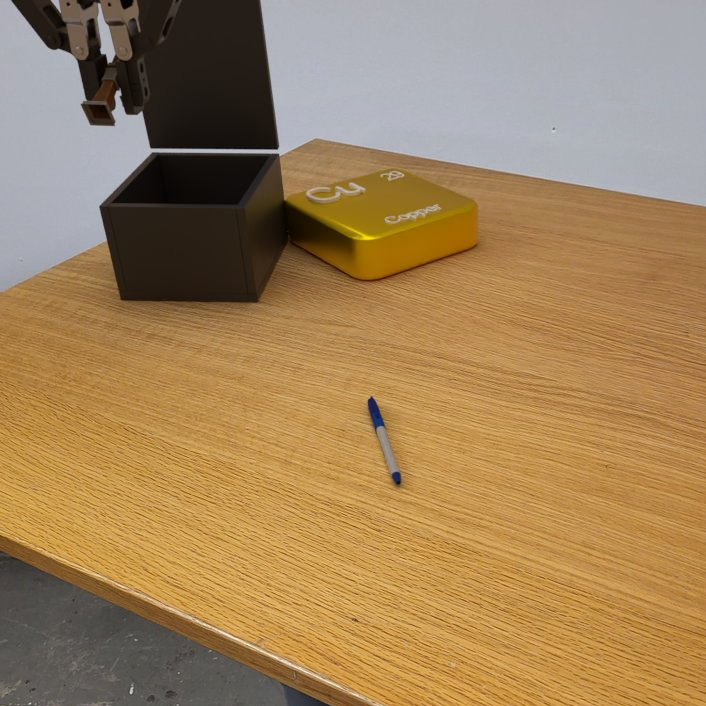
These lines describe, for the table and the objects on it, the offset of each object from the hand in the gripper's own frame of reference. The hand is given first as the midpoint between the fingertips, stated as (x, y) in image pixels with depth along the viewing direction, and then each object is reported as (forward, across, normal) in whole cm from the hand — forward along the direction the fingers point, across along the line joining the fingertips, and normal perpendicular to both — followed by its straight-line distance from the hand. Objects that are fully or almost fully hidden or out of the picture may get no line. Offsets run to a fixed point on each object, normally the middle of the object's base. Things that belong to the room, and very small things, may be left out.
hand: (120, 111), depth 67 cm
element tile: (+19, -15, -22) cm, 33 cm away
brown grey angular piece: (0, 0, 0) cm, 0 cm away
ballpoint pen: (+19, -20, +14) cm, 31 cm away
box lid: (+2, +1, -21) cm, 21 cm away
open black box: (+19, 0, -15) cm, 24 cm away
